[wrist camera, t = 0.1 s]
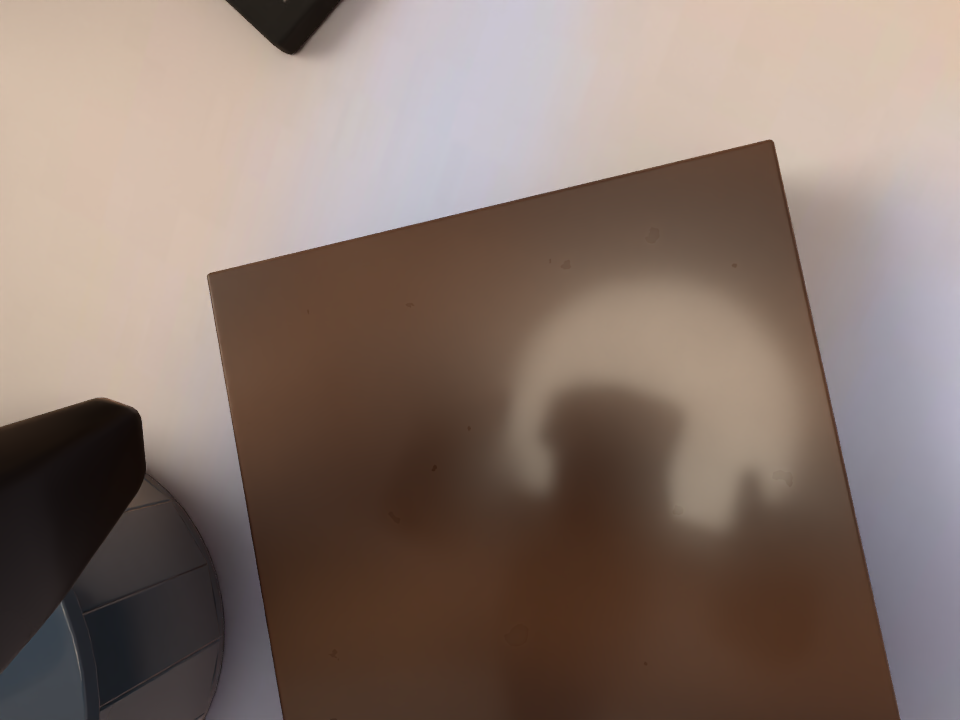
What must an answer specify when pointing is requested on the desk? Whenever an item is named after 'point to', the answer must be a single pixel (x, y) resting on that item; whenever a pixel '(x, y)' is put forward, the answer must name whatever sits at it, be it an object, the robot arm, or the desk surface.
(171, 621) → the pot
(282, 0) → the handheld gaming console
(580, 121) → the desk surface
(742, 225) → the trivet
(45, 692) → the lid
